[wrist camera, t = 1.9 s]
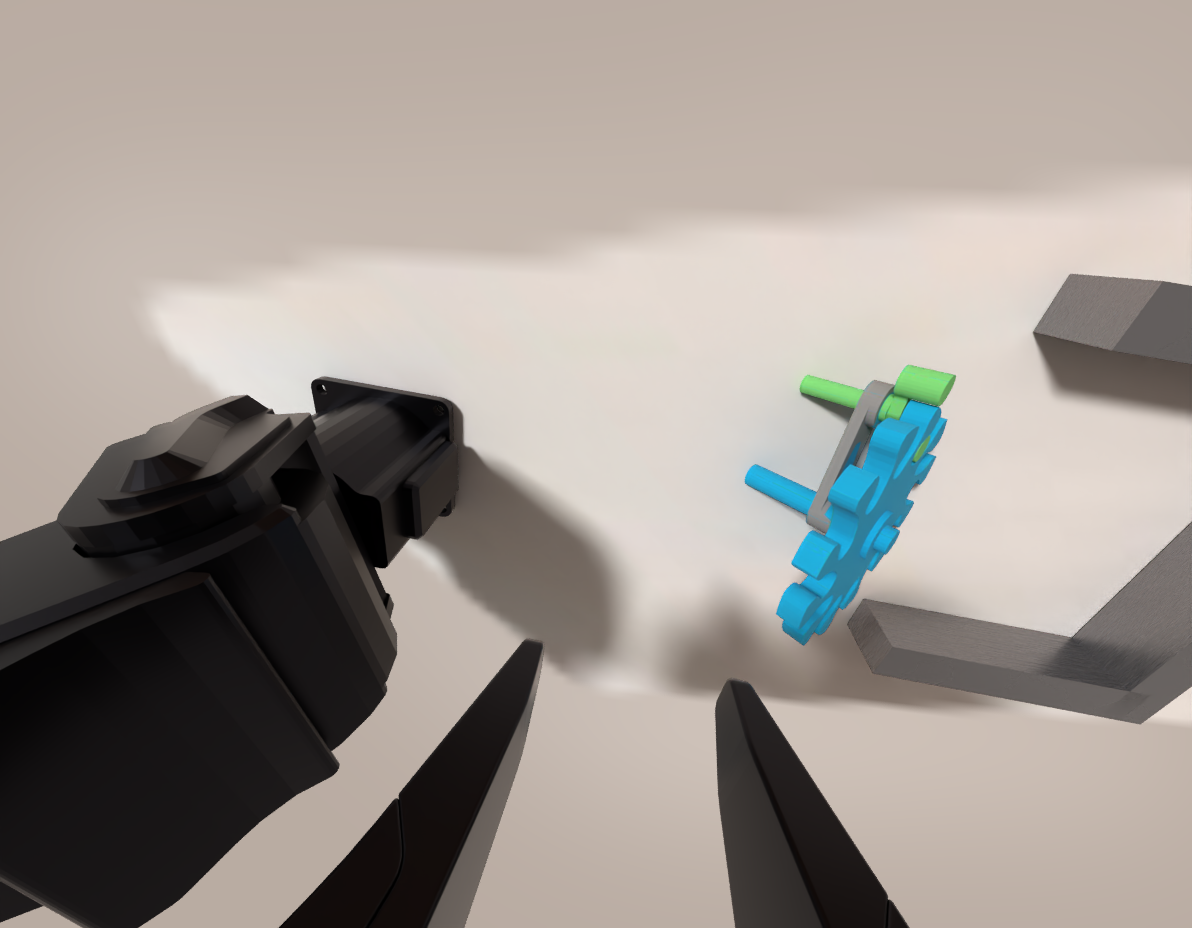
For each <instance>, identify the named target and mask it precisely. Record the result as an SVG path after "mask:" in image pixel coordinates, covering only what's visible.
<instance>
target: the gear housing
mask: <svg viewBox="0 0 1192 928" xmlns="http://www.w3.org/2000/svg"><path fill="white" fill-rule="evenodd" d="M1034 332H1036V333H1040V334H1044V335H1048V336H1052V337H1057V338H1061V339H1065V340H1069V341H1073V342H1078V343H1082V344H1086V345H1090V346H1095V347H1099V348H1103V349H1107V350H1111V351H1117V352H1123V353H1129V354H1135V355H1141V356H1147V357H1152V358H1158V359H1164V360H1170V361H1176V362H1182V363H1188V364H1192V286H1189V285H1183V284H1177V283H1171V282H1164V281H1153V280H1141V279H1128V278H1116V277H1103V276H1091V275H1078V274H1070V275H1069V277H1068V278H1067V280H1066V282H1065V283H1064V285H1063V286H1062V288H1061V289H1060V291H1059V293H1058V294H1057V296H1056V297H1055V299H1054V300H1053V302H1052V304H1051V305H1050V307H1049V308H1048V310H1047V311H1046V313H1045V315H1044V316H1043V318H1042V319H1041V321H1040V322H1039V324H1038V326H1037V327H1036V329H1035V330H1034ZM847 625H848V627H849V629H850V630H851V632H852V634H853V636H854V638H855V640H856V642H857V644H858V646H859V648H860V650H861V652H862V653H863V655H864V657H865V659H866V661H867V663H868V665H869V667H870V669H871V671H872V673H874V674H879V675H884V676H889V677H895V678H900V679H905V680H910V681H916V682H921V683H926V684H931V685H937V686H942V687H947V688H952V689H958V690H963V691H968V692H973V693H978V694H984V695H989V696H994V697H999V698H1005V699H1010V700H1015V701H1020V702H1026V703H1031V704H1036V705H1041V706H1047V707H1052V708H1057V709H1062V710H1068V711H1073V712H1078V713H1083V714H1089V715H1094V716H1099V717H1104V718H1109V719H1115V720H1120V721H1125V722H1130V723H1136V724H1141V723H1143V722H1144V721H1146V720H1147V719H1148V718H1150V717H1151V716H1152V715H1154V714H1155V713H1156V712H1158V711H1159V710H1160V709H1162V708H1163V707H1165V706H1166V705H1167V704H1169V703H1170V702H1171V701H1173V700H1174V699H1175V698H1177V697H1178V696H1179V695H1181V694H1182V693H1184V692H1185V691H1186V690H1188V689H1189V688H1190V687H1192V523H1191V524H1190V525H1189V526H1188V527H1187V528H1186V529H1185V530H1183V531H1182V532H1181V533H1180V534H1179V535H1178V536H1177V537H1176V538H1175V539H1174V540H1173V541H1172V542H1171V543H1170V544H1169V545H1168V546H1167V547H1166V548H1165V549H1164V550H1163V551H1162V552H1161V553H1160V554H1159V555H1158V556H1157V557H1155V558H1154V559H1153V560H1152V561H1151V562H1150V563H1149V564H1148V565H1147V566H1146V567H1145V568H1144V569H1143V570H1142V571H1141V572H1140V573H1139V574H1138V575H1137V576H1136V577H1135V578H1134V579H1133V580H1132V581H1131V582H1130V583H1129V584H1127V585H1126V586H1125V587H1124V588H1123V589H1122V590H1121V591H1120V592H1119V593H1118V594H1117V595H1116V596H1115V597H1114V598H1113V599H1112V600H1111V601H1110V602H1109V603H1108V604H1107V605H1106V606H1105V607H1104V608H1103V609H1102V610H1100V611H1099V612H1098V613H1097V614H1096V615H1095V616H1094V617H1093V618H1092V619H1091V620H1090V621H1089V622H1088V623H1087V624H1086V625H1085V626H1084V627H1083V628H1082V629H1081V630H1080V631H1079V632H1078V633H1077V634H1076V635H1075V636H1074V637H1072V638H1071V637H1065V636H1060V635H1054V634H1049V633H1044V632H1038V631H1033V630H1028V629H1022V628H1017V627H1012V626H1006V625H1001V624H996V623H990V622H985V621H979V620H974V619H969V618H963V617H958V616H953V615H947V614H942V613H937V612H931V611H926V610H921V609H915V608H910V607H904V606H899V605H894V604H888V603H883V602H878V601H872V600H867V599H863V601H862V602H861V604H860V605H859V607H858V609H857V610H856V612H855V613H854V615H853V616H852V618H851V620H850V621H849V623H848V624H847Z"/></svg>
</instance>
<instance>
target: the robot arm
mask: <svg viewBox="0 0 1192 928" xmlns="http://www.w3.org/2000/svg"><path fill="white" fill-rule="evenodd" d="M322 385H324V386H325V387H326V389H327V391H325V390H324V389H323V387H322ZM311 389H312V394H313V399H314V405H315V410H316V414H314V415H312V416H311V414H310V413H295V414H275V413H274V411H273V409H268V408H266V407H265V406H263V405H262V404H260V403H259V402H257V401H256V400H254V399H253V398H251V397H250V396H248V395H241V396H230V397H228V398H225V399H222V400H220V401H217V402H214V403H212V404H209V405H206V406H204V407H201V408H199V409H196V410H194V411H191V412H189V413H187V414H185V415H183V416H181V417H179V418H177V419H175V420H174V421H173V422H168V423H163V424H160V425H157V426H154V427H152V428H150V430H149V431H148V432H147V433H146V434H143V435H140V436H137V437H134V438H130V439H127V440H124V441H121V442H118V443H115V444H112V445H110V446H108V447H107V448H106V449H105V450H104V452H103V453H102V455H101V456H100V458H99V459H98V460H97V461H96V463H95V464H94V466H93V467H92V468H91V470H90V471H89V472H88V474H87V475H86V477H85V478H84V479H83V481H82V482H81V483H80V485H79V486H78V488H77V489H76V490H75V492H74V493H73V494H72V496H71V497H70V498H69V500H68V501H67V503H66V504H65V505H64V507H63V508H62V510H61V511H60V512H59V514H58V518H57V520H56V521H54V522H51V523H49V524H46V525H43V526H40V527H38V528H35V529H32V530H30V531H27V532H24V533H22V534H19V535H17V536H14V537H11V538H8V539H6V540H3V541H1V542H0V922H3V921H5V920H8V919H10V918H13V917H16V916H18V915H21V914H23V913H26V912H29V911H31V910H34V909H36V908H39V907H42V906H45V907H47V908H49V909H50V910H52V911H54V912H56V913H58V914H60V915H61V916H63V917H65V918H66V919H68V920H70V921H72V922H73V923H75V924H77V925H79V926H80V927H82V928H138V927H140V926H142V925H143V924H144V923H146V922H148V921H149V920H151V919H152V918H154V917H155V916H157V915H158V914H160V913H161V912H163V911H164V910H166V909H167V908H169V907H170V906H172V905H173V904H174V903H176V902H177V901H178V900H180V899H181V898H182V897H183V896H184V895H185V894H186V893H187V892H188V891H189V890H190V889H191V888H192V887H193V886H194V885H195V884H196V883H197V882H198V881H199V880H200V879H201V878H202V877H203V876H204V875H205V874H206V873H207V872H208V871H209V870H210V869H211V868H212V867H213V866H214V865H215V864H216V863H217V862H218V861H219V860H220V859H221V858H222V857H223V856H224V855H225V854H226V853H227V852H228V851H229V850H230V849H231V848H232V847H233V846H234V845H235V844H236V843H238V842H239V841H240V840H241V839H242V838H243V837H244V836H245V835H246V834H247V833H248V832H249V831H251V829H253V828H254V827H255V826H256V825H257V824H258V823H259V822H260V821H262V820H263V819H264V818H266V817H267V816H268V815H270V814H271V813H272V812H274V811H275V810H277V809H278V808H279V807H281V806H282V805H283V804H285V803H286V802H287V801H289V800H290V799H292V798H293V797H294V796H296V795H297V794H299V793H301V792H303V791H305V790H307V789H309V788H311V787H313V786H314V785H316V784H318V783H320V782H322V781H324V780H326V779H328V778H330V777H331V776H333V775H334V774H335V773H336V772H337V771H338V769H339V762H338V761H337V759H336V758H335V756H334V755H333V753H332V752H331V751H332V750H334V749H335V748H336V747H338V746H339V745H340V744H342V743H343V742H344V741H345V740H346V739H347V738H348V737H349V736H350V735H351V734H352V733H353V732H354V731H355V730H356V729H357V728H358V727H359V726H360V725H361V724H362V723H363V722H364V721H365V720H366V719H367V718H368V717H369V716H370V715H371V714H372V712H373V711H374V710H375V708H376V707H377V706H378V704H379V703H380V702H381V700H382V699H383V698H384V696H385V695H386V692H387V686H386V684H385V682H386V681H387V679H388V677H389V674H390V671H391V669H392V666H393V663H394V661H395V658H396V655H397V633H396V631H395V628H394V626H393V624H392V622H391V620H390V618H391V614H392V610H393V606H394V603H393V601H392V599H391V597H390V595H389V594H388V593H386V592H385V590H384V588H383V585H382V583H381V581H380V579H379V577H378V574H377V572H376V570H375V567H377V568H386V567H387V566H388V565H389V564H390V563H391V561H392V560H393V559H394V558H395V556H396V555H397V554H398V553H399V551H400V550H401V549H402V548H403V546H404V545H405V544H406V543H407V541H408V540H409V539H410V538H411V539H417V540H418V539H419V538H421V537H422V536H423V535H424V534H425V533H426V532H427V530H428V529H429V528H430V526H431V525H432V524H433V522H434V521H435V520H436V518H437V517H438V516H443V517H446V516H449V515H450V514H451V513H452V511H453V510H454V507H455V498H454V495H455V493H456V492H457V491H458V488H459V485H458V447H457V445H456V444H455V443H454V442H453V408H452V405H451V403H450V402H449V401H448V400H447V399H445V398H442V397H437V396H431V395H426V394H420V393H414V392H409V391H403V390H398V389H392V388H387V387H381V386H375V385H370V384H364V383H359V382H353V381H348V380H342V379H336V378H331V377H320V378H318V379H315V380H314V381H313V382H312V384H311ZM437 405H439V406H441V407H442V408H443V410H444V413H442V412H440V411H439V410H438V409H437ZM445 507H446V508H445ZM543 653H544V643H543V642H542V641H537V640H532V639H526V640H524V641H523V642H522V643H521V645H520V646H519V647H518V648H517V650H516V651H515V652H514V653H513V655H512V656H511V657H510V658H509V660H508V661H507V662H506V663H505V664H504V666H503V667H502V668H501V669H500V670H499V672H498V673H497V674H496V675H495V677H494V678H493V679H492V680H491V682H490V683H489V684H488V685H487V687H486V688H485V689H484V690H483V691H482V693H481V694H480V695H479V696H478V697H477V699H476V700H475V701H474V703H473V704H472V705H471V706H470V707H469V708H468V710H467V711H466V712H465V714H464V715H463V716H462V717H461V718H460V720H459V721H458V722H457V723H456V724H455V726H454V727H453V728H452V729H451V731H450V732H449V733H448V735H446V737H445V738H444V739H443V741H442V742H441V743H440V744H439V745H438V746H437V748H436V749H435V750H434V752H433V753H432V754H431V755H430V756H429V758H428V759H427V760H426V761H425V763H424V764H423V765H422V766H421V767H420V769H419V770H418V771H417V772H416V774H415V775H414V776H413V777H412V778H411V780H410V781H409V782H408V783H407V785H406V786H405V787H404V788H403V789H402V791H401V792H400V793H399V799H397V798H396V799H394V800H393V801H392V803H391V804H390V805H389V806H388V807H387V809H386V810H385V811H384V812H383V814H382V815H381V816H380V817H379V819H378V820H377V821H376V823H374V825H373V826H372V827H371V828H370V829H369V830H368V832H367V833H366V834H365V835H364V836H363V838H362V839H361V840H360V841H359V842H358V843H357V844H356V846H355V847H354V848H353V850H351V852H350V853H349V854H348V855H347V856H346V857H345V858H344V859H343V860H342V862H341V863H340V864H339V865H338V866H337V867H336V868H335V869H334V870H333V871H332V872H331V873H330V874H329V875H328V877H327V878H326V879H325V880H324V881H323V882H322V883H321V884H320V885H319V886H318V887H317V888H316V890H315V891H314V892H313V893H312V894H311V895H310V896H309V897H308V898H307V899H306V900H305V901H304V902H303V903H302V904H301V905H300V906H299V907H298V909H296V910H295V911H294V912H293V913H292V915H291V916H290V917H289V918H288V919H287V920H286V921H285V922H284V923H283V924H282V925H281V926H280V927H279V928H464V927H465V924H466V921H467V918H468V915H469V912H470V909H471V906H472V902H473V900H474V897H475V894H476V891H477V888H478V885H479V882H480V879H481V876H482V873H483V870H484V867H485V864H486V861H487V858H488V855H489V852H490V850H491V847H492V844H493V840H494V838H495V834H496V832H497V829H498V826H499V823H500V820H501V817H502V814H503V811H504V808H505V805H506V802H507V799H508V796H509V793H510V790H511V787H512V784H513V781H514V778H515V775H516V772H517V769H518V766H519V763H520V760H521V756H522V752H523V748H524V745H525V741H526V736H527V732H528V727H529V723H530V718H531V713H532V709H533V705H534V700H535V696H536V691H537V687H538V683H539V678H540V673H541V668H542V661H543ZM715 718H716V719H715V720H716V749H717V779H718V797H719V806H720V815H721V822H722V830H723V837H724V845H725V853H726V860H727V868H728V875H729V883H730V890H731V898H732V906H733V914H734V921H735V928H909V926H908V925H907V923H906V922H905V920H904V919H903V917H902V915H901V914H900V913H899V911H898V909H897V908H896V906H895V905H894V903H893V902H892V901H891V900H888V895H887V893H886V891H885V890H884V888H883V887H882V885H881V884H880V882H879V881H878V879H877V877H876V876H875V874H874V873H873V871H872V870H871V868H870V867H869V865H868V864H867V862H866V861H865V859H864V858H863V856H862V855H861V853H860V851H859V850H858V848H857V847H856V845H855V844H854V842H853V841H852V839H851V838H850V836H849V835H848V833H847V832H846V830H845V828H844V827H843V825H842V824H841V822H840V821H839V819H838V818H837V816H836V815H835V813H834V812H833V810H832V808H831V807H830V805H829V804H828V802H827V801H826V799H825V798H824V796H823V795H822V793H821V792H820V790H819V789H818V787H817V785H816V784H815V782H814V781H813V779H812V778H811V777H810V775H809V773H808V772H807V770H806V769H805V767H804V766H803V764H802V762H801V761H800V759H799V758H798V756H797V755H796V753H795V752H794V750H793V749H792V747H791V746H790V744H789V743H788V741H787V740H786V738H785V736H784V735H783V733H782V732H781V731H780V729H779V727H778V726H777V724H776V723H775V721H774V720H773V718H772V717H771V715H770V713H769V712H768V710H767V709H766V707H765V706H764V704H763V703H762V701H761V700H760V698H759V697H758V695H757V693H756V692H755V690H754V689H753V687H752V686H751V685H750V684H749V683H748V682H746V681H743V680H738V679H733V678H730V679H728V680H727V681H726V683H725V685H724V687H723V689H722V691H721V693H720V695H719V697H718V699H717V702H716V708H715Z"/></svg>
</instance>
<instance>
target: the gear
mask: <svg viewBox="0 0 1192 928" xmlns="http://www.w3.org/2000/svg"><path fill="white" fill-rule="evenodd" d="M955 378H956V375H953V374H948V373H944V372H939V371H935V370H930V369H926V368H921V367H917V366H912V365H907V366H906V367H905V368H904V369H903V371H902V372H901V374H900V376H899V377H898V379H897V382H896V384H895V385H892V384H888V383H884V382H881V381H877V380H874V381H872V382H871V383H870V384H869V385H868V386H867V387H866V388H865V390H861V389H857V388H854V387H850V386H846V385H843V384H839V383H836V382H832V381H828V380H825V379H821V378H817V377H814V376H810V375H807V376H805V378H804V379H803V380H802V383H801V385H800V392H801V393H805V394H808V395H811V396H814V397H818V398H821V399H824V400H827V401H831V402H834V403H837V404H840V405H844V406H847V407H850V408H853V409H854V412H853V414H852V416H851V418H850V420H849V423H848V425H847V427H846V429H845V431H844V434H843V436H842V438H841V440H840V443H839V445H838V447H837V449H836V451H835V454H834V456H833V458H832V460H831V462H830V465H829V467H828V469H827V471H826V473H825V476H824V478H823V480H822V482H821V485H820V487H819V489H818V491H817V492H815V491H813V490H811V489H808V488H806V487H804V486H802V485H800V484H798V483H796V482H793V481H791V480H789V479H787V478H785V477H783V476H780V475H778V474H776V473H774V472H772V471H770V470H767V469H765V468H763V467H761V466H759V465H756V464H755V465H753V466H752V467H751V468H750V469H749V471H748V472H747V474H746V477H745V484H747V485H749V486H751V487H753V488H755V489H757V490H759V491H761V492H762V493H764V494H766V495H768V496H770V497H772V498H774V499H776V500H778V501H780V502H782V503H784V504H786V505H788V506H790V507H792V508H794V509H796V510H798V511H800V512H802V513H804V514H806V515H807V517H806V523H807V524H809V525H811V526H813V527H815V528H817V529H819V530H821V531H822V532H824V533H826V535H825V536H823V535H821V534H820V533H818V532H816V531H813V530H812V531H810V532H809V533H808V534H807V536H806V537H805V539H804V541H803V542H802V544H801V546H800V547H799V549H798V551H797V553H796V555H795V557H794V559H793V561H792V565H793V566H794V567H796V568H798V569H799V570H801V571H803V572H804V573H806V574H808V576H807V578H806V579H805V580H804V581H803V582H802V583H801V584H797V583H793V584H791V585H790V586H789V587H788V588H787V589H786V590H785V592H784V594H783V596H782V598H781V600H780V603H779V606H778V609H777V613H776V614H777V615H778V616H779V617H781V618H782V619H784V621H783V624H782V628H783V631H784V632H785V633H787V634H788V635H790V636H791V637H792V638H794V639H795V640H796V641H798V642H799V643H801V644H802V645H803V646H804V645H805V644H806V643H807V641H808V640H809V639H810V637H811V636H812V634H813V633H814V632H815V633H817V634H818V635H821V634H823V633H824V632H825V631H826V630H827V628H828V627H829V625H830V623H831V622H832V620H833V618H834V615H835V613H836V611H837V610H838V608H841V609H842V610H843V609H845V608H846V607H847V606H848V604H849V603H850V602H851V601H852V600H853V599H854V597H855V595H856V593H857V591H858V589H859V585H860V582H861V580H862V578H863V576H864V574H865V572H866V570H867V569H868V570H870V571H873V569H874V568H875V567H876V565H877V564H878V563H879V561H880V560H881V558H882V557H883V555H884V554H885V555H886V554H887V553H888V552H889V550H890V549H891V548H892V546H893V544H894V543H895V541H896V539H897V537H898V535H899V533H900V531H899V530H897V529H895V528H893V527H892V526H893V525H894V526H897V527H900V526H901V524H902V523H903V521H904V520H905V518H906V516H907V515H908V513H909V511H910V510H911V508H912V506H913V504H914V502H913V501H911V500H908V499H907V496H908V494H909V492H910V491H911V489H912V487H913V486H914V484H915V483H917V484H921V483H922V482H923V481H924V480H925V478H926V476H927V474H928V472H929V471H930V469H931V467H932V465H933V462H934V460H935V458H936V456H933V455H931V454H928V452H930V451H932V450H933V449H934V448H935V446H936V445H937V443H938V442H939V440H940V439H941V436H942V434H943V431H944V429H945V426H946V422H947V419H944V418H940V417H941V409H940V408H939V407H937V406H940V405H941V404H942V403H943V402H944V401H945V399H946V398H947V396H948V394H949V392H950V391H951V389H952V386H953V384H954V382H955ZM911 399H913V400H911ZM915 400H917V401H915ZM918 401H920V402H918ZM922 402H924V403H922ZM926 403H928V404H926ZM929 404H932V405H929ZM933 405H935V406H933ZM873 428H875V431H874V433H873V435H872V437H871V440H870V443H869V449H868V453H867V457H866V460H865V463H864V465H863V468H862V469H861V468H858V467H856V466H855V465H856V463H857V460H858V458H859V456H860V454H861V452H862V450H863V448H864V446H865V444H866V442H867V440H868V437H869V435H870V433H871V431H872V429H873Z"/></svg>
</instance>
